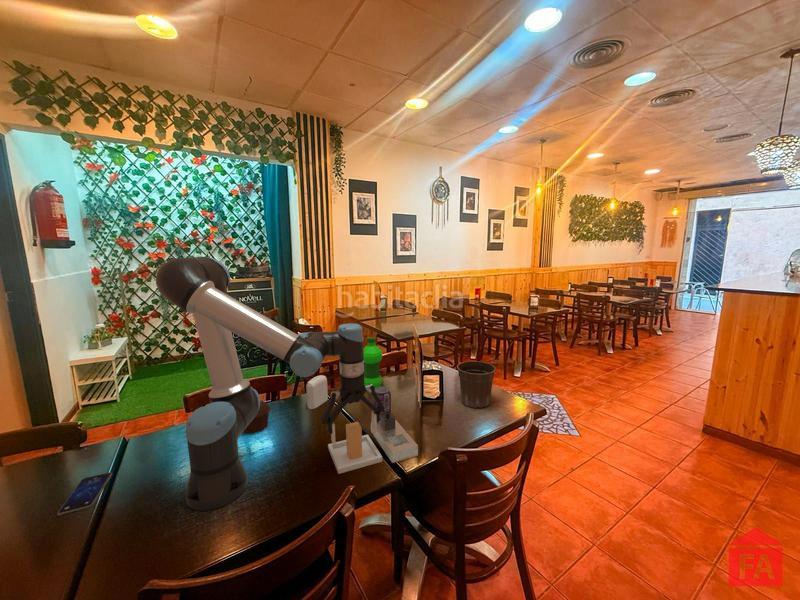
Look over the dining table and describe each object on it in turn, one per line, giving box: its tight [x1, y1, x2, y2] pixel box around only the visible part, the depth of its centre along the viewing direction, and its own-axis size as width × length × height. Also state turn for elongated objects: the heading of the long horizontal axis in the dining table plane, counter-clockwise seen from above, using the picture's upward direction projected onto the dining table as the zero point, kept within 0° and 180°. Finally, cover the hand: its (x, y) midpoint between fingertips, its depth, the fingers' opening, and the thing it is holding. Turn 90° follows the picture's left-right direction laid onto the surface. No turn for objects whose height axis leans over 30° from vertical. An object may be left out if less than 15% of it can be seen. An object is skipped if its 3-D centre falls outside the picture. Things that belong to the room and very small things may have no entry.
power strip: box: [370, 409, 419, 464], centre depth 113 cm, size 9×20×10 cm, turn 24°
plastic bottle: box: [363, 336, 383, 388], centre depth 158 cm, size 10×10×25 cm
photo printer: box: [305, 374, 329, 410], centre depth 142 cm, size 10×4×12 cm, turn 152°
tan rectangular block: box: [345, 421, 363, 460], centre depth 106 cm, size 4×4×10 cm
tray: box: [327, 434, 383, 475], centre depth 107 cm, size 14×14×2 cm
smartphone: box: [56, 471, 113, 517], centre depth 91 cm, size 7×1×15 cm
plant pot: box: [456, 360, 497, 409], centre depth 143 cm, size 16×16×16 cm
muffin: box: [243, 399, 271, 434], centre depth 124 cm, size 12×11×10 cm
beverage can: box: [372, 385, 392, 420], centre depth 130 cm, size 7×7×12 cm
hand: (354, 436), depth 106 cm, fingers open, 13 cm apart
